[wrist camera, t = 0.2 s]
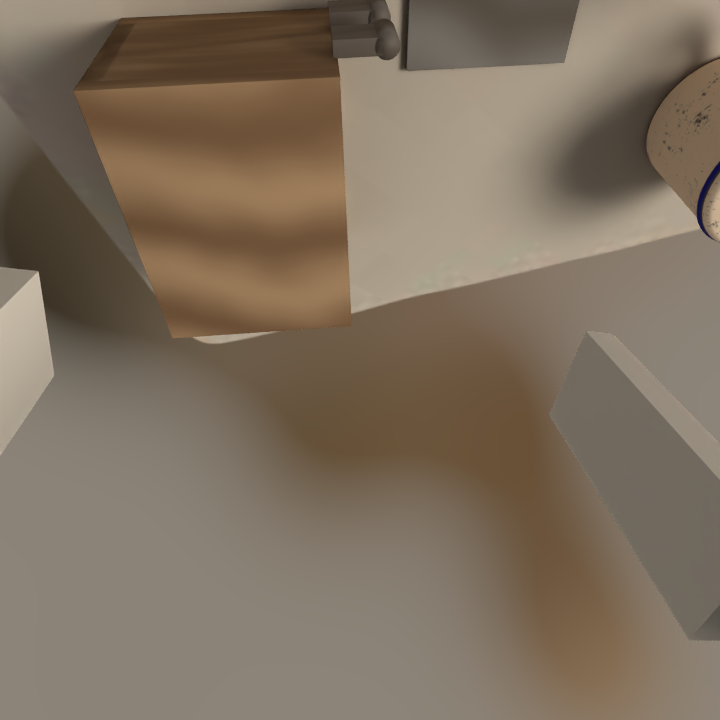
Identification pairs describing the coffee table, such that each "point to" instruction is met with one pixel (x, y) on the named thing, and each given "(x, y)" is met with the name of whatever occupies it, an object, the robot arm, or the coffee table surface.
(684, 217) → the coffee table surface
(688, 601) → the robot arm
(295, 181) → the cabinet
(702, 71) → the teacup with lid
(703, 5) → the coffee table surface
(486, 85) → the coffee table surface
